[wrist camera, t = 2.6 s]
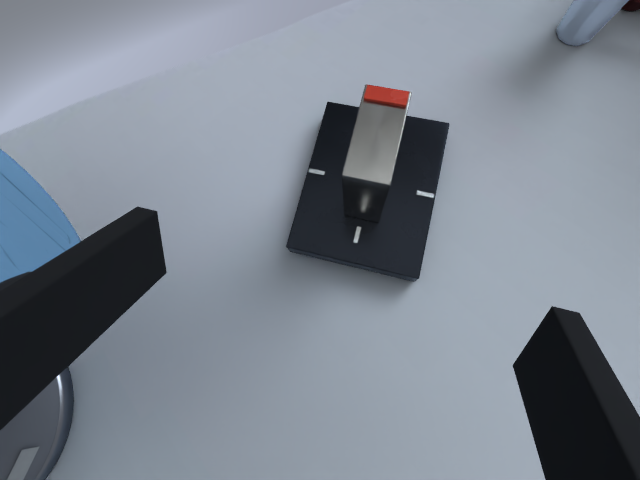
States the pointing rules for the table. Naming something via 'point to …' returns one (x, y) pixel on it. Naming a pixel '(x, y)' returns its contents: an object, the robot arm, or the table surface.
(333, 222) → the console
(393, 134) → the red-capped silver block
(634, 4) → the binoculars
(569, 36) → the milkshake
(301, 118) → the table surface
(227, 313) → the table surface
